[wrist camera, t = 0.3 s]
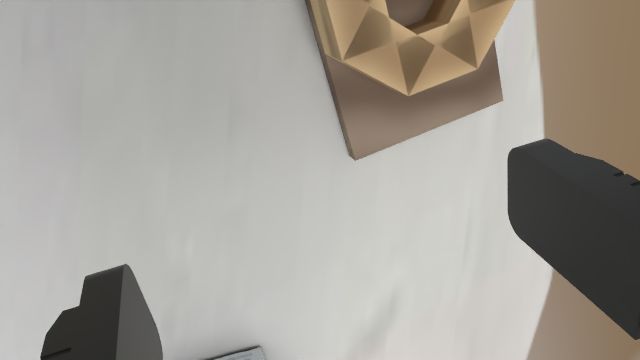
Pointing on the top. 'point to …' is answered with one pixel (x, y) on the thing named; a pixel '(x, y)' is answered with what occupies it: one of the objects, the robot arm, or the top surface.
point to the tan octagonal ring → (410, 39)
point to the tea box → (246, 355)
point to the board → (396, 108)
